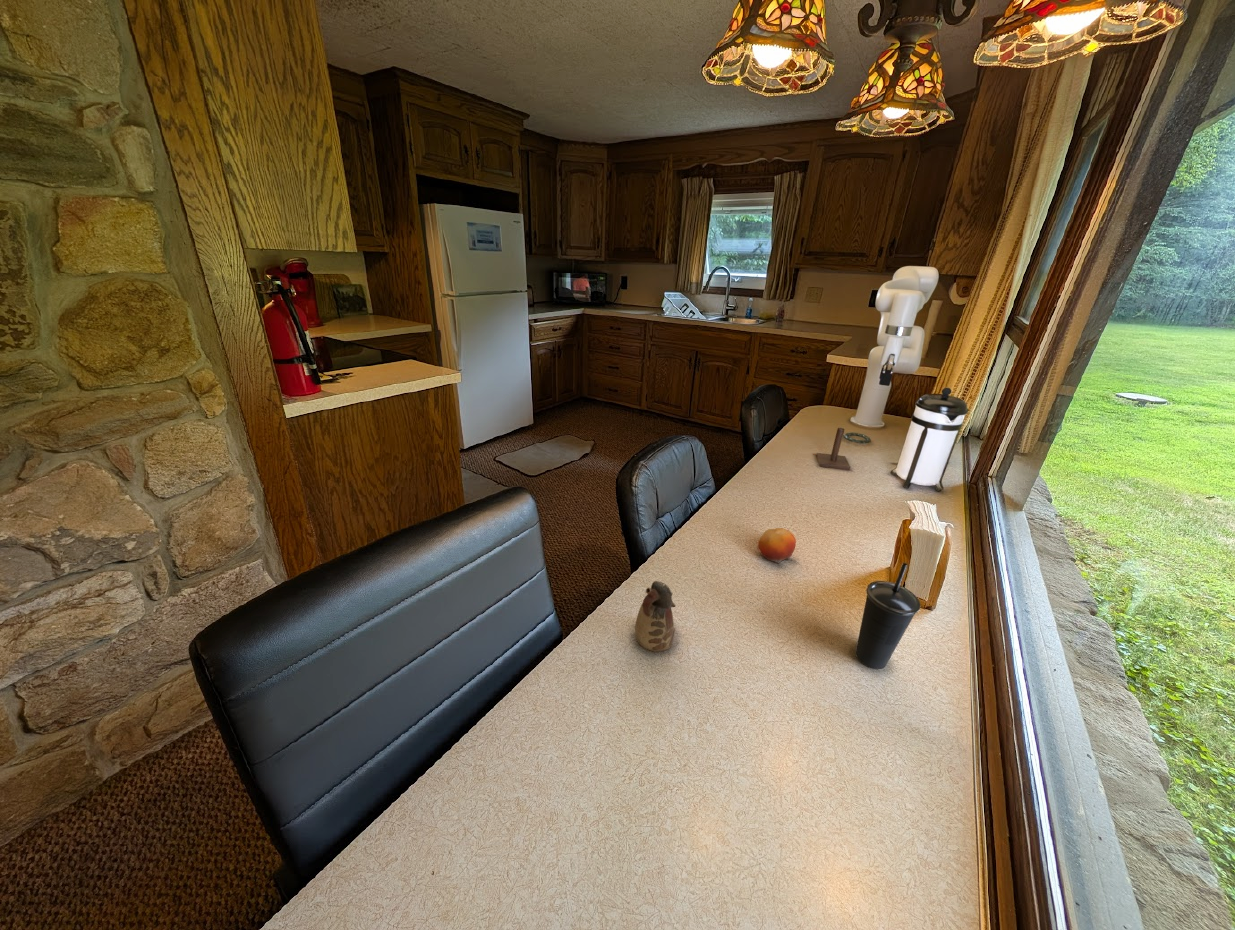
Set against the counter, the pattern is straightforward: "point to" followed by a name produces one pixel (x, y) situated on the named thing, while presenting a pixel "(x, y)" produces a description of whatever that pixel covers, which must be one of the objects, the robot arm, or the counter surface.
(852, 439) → the ring
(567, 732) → the counter surface
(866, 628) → the drinking cup
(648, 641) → the figurine
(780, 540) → the fruit
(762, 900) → the counter surface
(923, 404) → the coffee press
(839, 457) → the brown peg stand
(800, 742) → the counter surface
